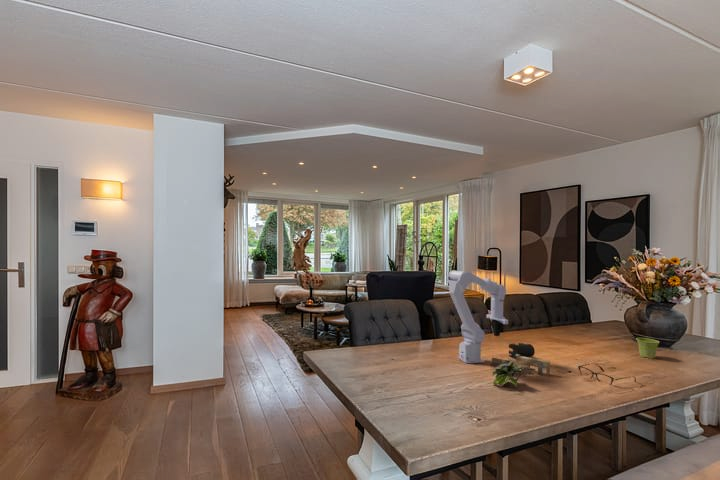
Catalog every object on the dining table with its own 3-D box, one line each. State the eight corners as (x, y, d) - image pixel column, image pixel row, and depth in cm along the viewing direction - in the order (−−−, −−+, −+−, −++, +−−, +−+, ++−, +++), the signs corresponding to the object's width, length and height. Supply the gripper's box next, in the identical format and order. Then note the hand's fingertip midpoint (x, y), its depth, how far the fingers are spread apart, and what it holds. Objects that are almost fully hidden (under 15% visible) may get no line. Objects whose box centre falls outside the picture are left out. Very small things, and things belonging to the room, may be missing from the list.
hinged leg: (515, 368, 153) (515, 355, 153) (515, 366, 155) (516, 353, 155) (549, 374, 146) (549, 361, 146) (549, 373, 148) (550, 359, 148)
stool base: (545, 382, 138) (545, 368, 138) (487, 370, 150) (487, 358, 150) (548, 367, 157) (548, 355, 157) (496, 357, 169) (496, 346, 169)
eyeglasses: (575, 373, 150) (575, 364, 151) (600, 370, 156) (600, 361, 156) (614, 388, 135) (614, 378, 135) (640, 384, 141) (640, 374, 141)
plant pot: (664, 360, 173) (664, 342, 174) (645, 359, 174) (645, 342, 174) (649, 354, 183) (649, 338, 183) (631, 353, 183) (631, 337, 183)
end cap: (518, 360, 166) (518, 346, 166) (507, 356, 172) (507, 342, 172) (534, 359, 168) (535, 345, 169) (523, 355, 175) (524, 341, 175)
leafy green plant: (503, 395, 138) (515, 368, 142) (523, 401, 128) (535, 372, 132) (482, 379, 137) (494, 353, 141) (500, 385, 126) (513, 356, 130)
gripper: (513, 310, 165) (513, 339, 165) (495, 305, 179) (494, 331, 179) (501, 311, 163) (500, 339, 163) (483, 305, 177) (482, 332, 177)
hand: (496, 335), depth 171 cm, fingers closed
